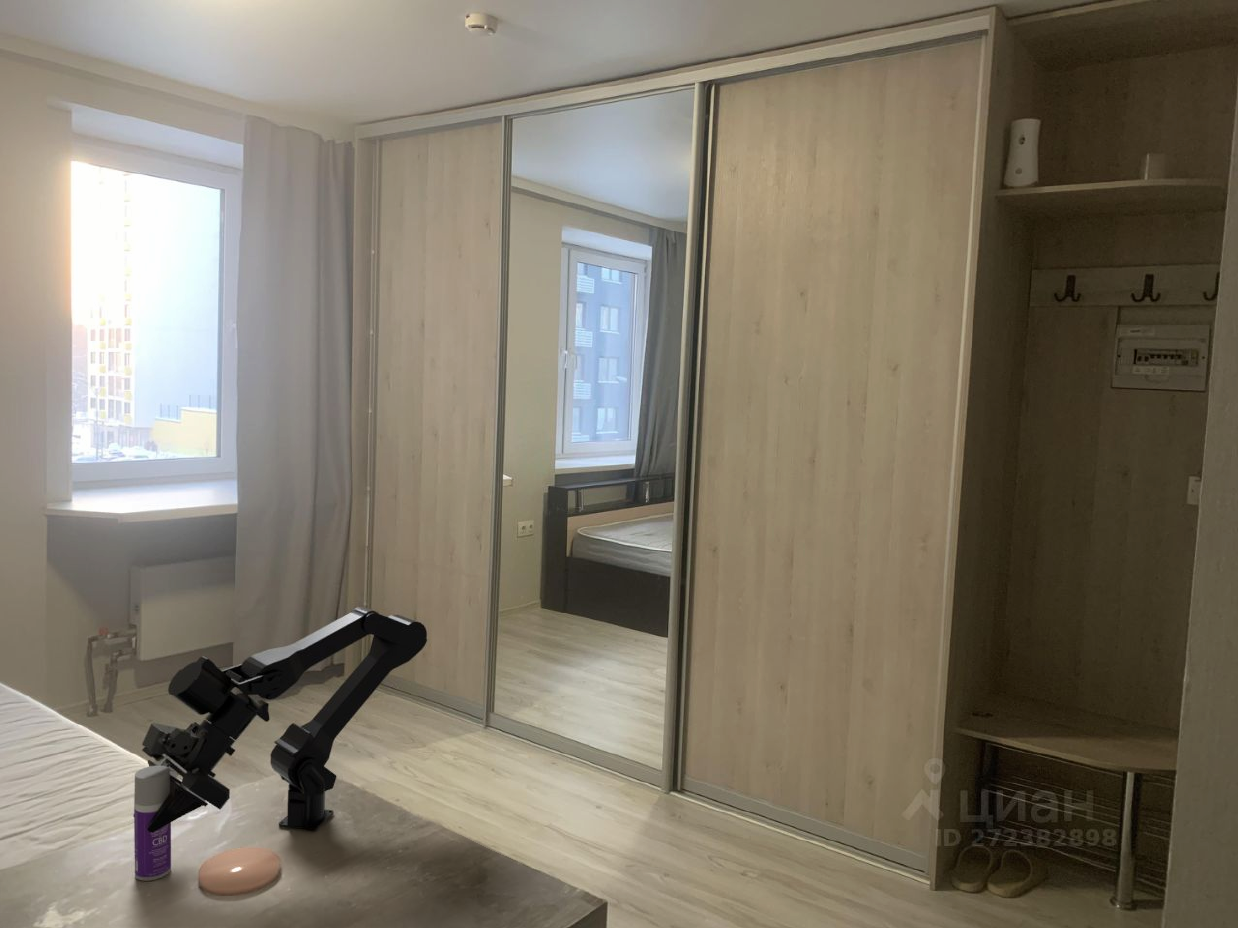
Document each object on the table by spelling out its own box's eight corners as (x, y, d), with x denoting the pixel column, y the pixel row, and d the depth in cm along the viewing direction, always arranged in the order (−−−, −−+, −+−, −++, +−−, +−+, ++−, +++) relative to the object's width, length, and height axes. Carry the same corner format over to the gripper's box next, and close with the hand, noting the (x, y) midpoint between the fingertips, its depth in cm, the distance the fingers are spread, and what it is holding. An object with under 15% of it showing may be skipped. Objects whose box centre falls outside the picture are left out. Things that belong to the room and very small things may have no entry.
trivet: (228, 850, 138) (228, 842, 138) (294, 859, 136) (294, 852, 136) (181, 889, 127) (181, 880, 127) (252, 900, 125) (252, 892, 125)
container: (156, 882, 128) (155, 780, 127) (127, 877, 129) (126, 776, 128) (178, 865, 133) (177, 767, 131) (150, 861, 134) (149, 763, 132)
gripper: (156, 685, 138) (76, 776, 131) (207, 720, 125) (121, 823, 118) (208, 722, 144) (135, 811, 137) (262, 759, 132) (184, 859, 125)
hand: (142, 824), depth 129 cm, fingers closed on container, 5 cm apart
